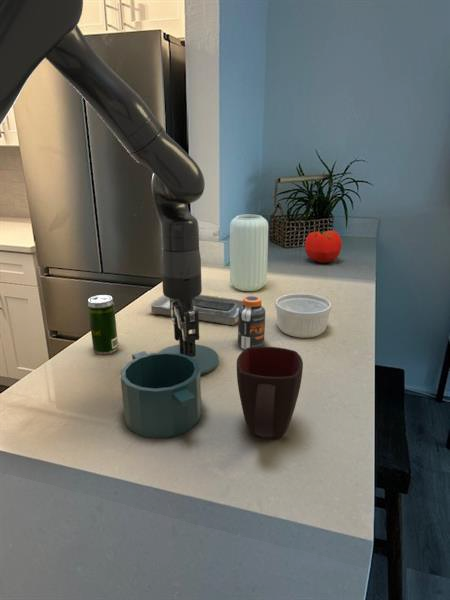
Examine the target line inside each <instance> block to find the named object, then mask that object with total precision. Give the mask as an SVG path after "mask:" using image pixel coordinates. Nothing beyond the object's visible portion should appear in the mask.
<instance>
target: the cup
mask: <svg viewBox="0 0 450 600" xmlns="http://www.w3.org/2000/svg"><path fill="white" fill-rule="evenodd" d="M303 368H304V362H303V358H302V357H301V355H300V354H299V353H298V351H296V350H292V349H289V348H284V347H279V346H278V347H277V346H263V347H250V348H246V349H243V350H242V352H241V353H239V355H238V357H237V359H236V380H237V388H238V395H239V399H240V405H241V409H242V413H243V418H244V420H245V424H246V427H247V429H248V432H249V434H250V435H251V436H253V437H256V438H259V439H265V440H278V439H282V438H283V437H284V436H285V434H286V432H287V431H288V428H289V426H290V424H291V420H292V418H293V415H294V412H295V410H296V409H295V408H296V405H297V402H298V397H299V393H300V389H301V384H302V378H303V370H304V369H303Z"/></svg>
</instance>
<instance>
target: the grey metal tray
mask: <svg viewBox="0 0 450 600" xmlns="http://www.w3.org/2000/svg"><path fill="white" fill-rule="evenodd" d="M192 302H193V304H194V305H195V309H196V310H198V312H199V314H198V315H199V321H205V322H212V323H217V324H223V325H229V326H230V325H231V326H235V325H236V324H238V310H239V308H240V307H241V306H243V300H240V299H235V298H228V297H220V296H214V295H209V294H200V295H199V296H197V297H195V298H193V299H192ZM148 306H150V308H151V309H150V310H151V313H152V314H158V315H162V316H163V315H164V316H170V298H168V297H166V296H165V295H164V294H162V295H161V296H159V297H158V298H157V299H155V300H153V301H152V302H151V303H149V304H148Z"/></svg>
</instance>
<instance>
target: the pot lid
mask: <svg viewBox="0 0 450 600" xmlns="http://www.w3.org/2000/svg"><path fill="white" fill-rule="evenodd" d="M178 343H179V344H175V345H171V346H168V347H165V348H163V349H161V350H159V351H158V352H157V353H159V352H175V353H181V354H184V344H183V335H182V336H180V337H179V340H178ZM195 347H196V355H195V356H194V357H192V358H193V359H194V360H196V361H197V362H198V364H199V367H200V376H202V375H204V374H207V373H209V372H211V371H212V370H214V369H215V368H216V367H217V365H218V364H219V354H218V353H217V352H216V351H215V350H214V349H213V348H210V347H209V346H207V345H203V344H196V343H195Z"/></svg>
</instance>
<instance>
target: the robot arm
mask: <svg viewBox="0 0 450 600" xmlns="http://www.w3.org/2000/svg"><path fill="white" fill-rule="evenodd" d="M83 8H84V0H0V127H1V126H2V124H3V123H4V121H5V119H6V118H7V116H8V114H9V113H10V111H11V109H12V108H13V107H14V105H15V103H16V101H17V99H18V97H19V96H20V94H21V92H22V90H23V89H24V87H25V85H26V83H27V82H28V80H29V79H30V77H31V76H32V74H33V73H34V72H35V71H36V69H37V68H38V67H39V66H40V65H41V63H42V62H43V61H44V60H46V61H47V62H48V63H50V65H52V67H54V68H55V69H56V70H57V71H58V73H60V74H61V76H63V77H64V79H66V81H67V82H68V83H69V84H70V85H71V86H72V87H73V88H74V89H75V90H76V91H77V92H78V93H79V95H80V96H82V98H83V99H84V100H85V101H86V102H87V104H89V106H90V107H91V108H92V109H93V111H94V112H95V113H96V114H97V115H98V117H100V119H101V120H102V122H103V123H104V124H105V125H106V126H107V128H108V129H109V130H110V131H111V132H112V134H113V135H114V136H115V138H116V139H117V140H118V141H119V142H120V144H121V145H122V147H124V149H125V150H126V152H128V153H129V155H130V156H131V157H132V158H133V159H134V160H135V161H136V162H137V163H138V164H140V165H142V166H144V167H146V168H148V169H149V170H150V171H151V172H152V178H151V193H152V197H153V202H154V207H155V210H156V214H157V217H158V221H159V224H160V240H161V257H160V261H161V262H160V264H161V266H160V267H161V280H162V293H163V294H162V295H165V296H166V297H168V298H170V315H169V317H170V318H172V319H171V322H172V324H173V335H174V340H175V341H178V342H179V337H180V336H182V335H183V344H184V355H187V356H190V357H194V356H195V355H196V347H195V344H196V341H199V340H200V320H199V315H198V314H199V312H198V310H196V309H195V305H194V304H193V302H192V299H193V298H195V297H197V296H199V295H202V292H203V290H202V288H203V287H202V286H203V285H202V257H201V251H200V228H199V222H198V220H197V218H196V217H195V216H194V215H193V214H192V213H191V212H190V209H189V204H193V203H195V202H197V201H198V200H200V198H201V197H203V194H204V191H205V183H206V182H205V178H204V174H203V172H202V170H201V168H200V166H199V165H198V164H197V162H196V161H195V160H194V159H193V158H192V156H190V154H189V153H187V151H185V149H184V148H182V146H181V145H180V144H179V143H178V142H176V141H175V140H174V139H173V138H172V137H171V136H170V135H168V133H167V132H166V130H165V129H164V126H162V124H161V123H160V121H159V120H158V119H157V117H156V115H155V114H154V113H153V112H152V110H151V109H150V107H149V106H148V105H147V104H146V102H145V101H144V100H143V99H142V97H140V95H139V94H138V93H137V92H136V91H135V90H134V89H133V88H132V87H131V86H130V85H129V84H128V83H127V82H125V80H124V79H122V78H121V77H120V76H119V75H118V74H117V73H116V72H115V71H114V70H113V69H112V68H111V67H110V66H109V65H107V63H106V62H105V61H104V60H103V59H102V58H101V57H100V56H99V54H97V52H96V51H95V49H94V48H93V47H92V46H91V44H90V43H89V42H88V40H87V38H85V35H84V34H83V32H82V30H81V29H80V27H79V26H78V24H79V23H80V20H81V17H82V14H83ZM190 331H191V333H190Z"/></svg>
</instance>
